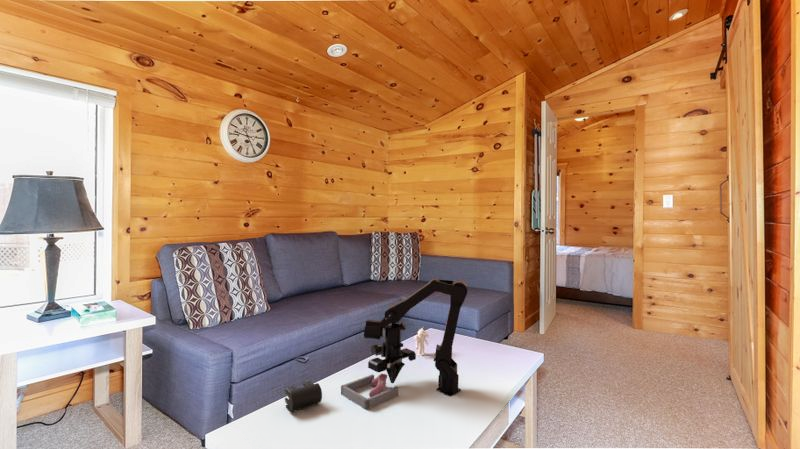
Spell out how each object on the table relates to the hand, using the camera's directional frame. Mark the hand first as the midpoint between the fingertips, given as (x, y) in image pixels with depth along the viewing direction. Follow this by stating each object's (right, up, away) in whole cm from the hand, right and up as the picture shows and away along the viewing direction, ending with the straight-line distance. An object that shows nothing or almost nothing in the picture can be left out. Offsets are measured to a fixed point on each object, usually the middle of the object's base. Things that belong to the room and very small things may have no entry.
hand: (392, 382), depth 139 cm
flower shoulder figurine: (+12, 0, +31) cm, 33 cm away
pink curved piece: (-5, -1, -5) cm, 7 cm away
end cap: (-28, -1, -16) cm, 33 cm away
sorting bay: (-8, -1, -7) cm, 11 cm away
